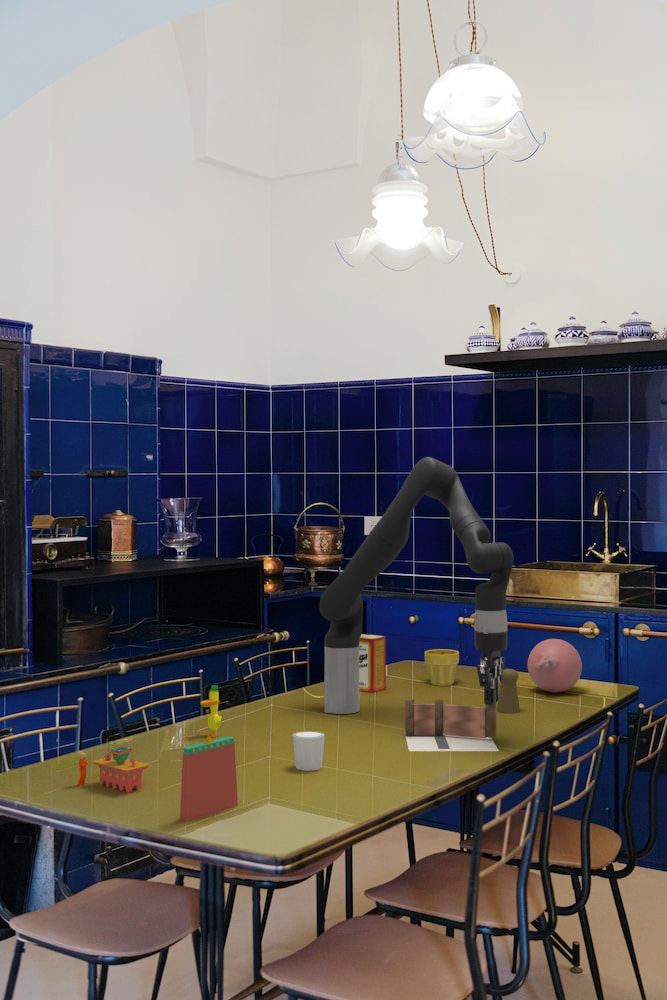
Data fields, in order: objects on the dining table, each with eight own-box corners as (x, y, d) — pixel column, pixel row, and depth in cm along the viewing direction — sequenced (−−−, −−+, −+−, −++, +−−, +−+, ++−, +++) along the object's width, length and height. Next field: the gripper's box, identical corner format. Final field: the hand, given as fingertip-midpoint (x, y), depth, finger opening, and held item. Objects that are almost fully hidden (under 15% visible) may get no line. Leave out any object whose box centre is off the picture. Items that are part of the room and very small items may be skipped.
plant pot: (425, 687, 318) (425, 654, 318) (423, 680, 328) (423, 649, 328) (460, 687, 317) (460, 654, 317) (457, 681, 328) (457, 649, 328)
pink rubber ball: (511, 696, 304) (511, 641, 304) (540, 685, 320) (540, 634, 320) (562, 702, 295) (562, 646, 295) (590, 690, 311) (590, 638, 311)
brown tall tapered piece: (519, 708, 286) (519, 667, 286) (520, 713, 280) (520, 671, 280) (496, 708, 287) (496, 667, 287) (497, 713, 281) (497, 671, 281)
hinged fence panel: (442, 735, 252) (442, 677, 252) (445, 733, 254) (445, 676, 254) (494, 739, 248) (494, 681, 247) (497, 737, 250) (497, 679, 250)
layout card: (409, 752, 239) (409, 750, 239) (404, 734, 257) (404, 732, 257) (499, 752, 239) (499, 750, 239) (488, 734, 257) (488, 732, 257)
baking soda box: (346, 689, 314) (346, 635, 314) (359, 686, 319) (359, 632, 319) (372, 693, 308) (372, 637, 308) (385, 689, 314) (385, 635, 313)
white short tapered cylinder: (314, 772, 222) (314, 739, 222) (286, 768, 226) (286, 735, 226) (330, 765, 228) (330, 732, 228) (303, 761, 232) (303, 729, 232)
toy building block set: (187, 822, 190) (186, 743, 190) (70, 787, 213) (69, 716, 213) (238, 806, 200) (237, 730, 199) (120, 774, 223) (120, 706, 222)
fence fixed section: (405, 736, 253) (405, 701, 253) (405, 734, 255) (404, 699, 255) (443, 736, 253) (443, 701, 253) (442, 734, 255) (442, 699, 255)
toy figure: (206, 740, 252) (206, 689, 251) (196, 737, 254) (196, 687, 254) (227, 734, 257) (227, 685, 257) (216, 732, 259) (216, 683, 259)
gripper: (485, 623, 256) (485, 695, 257) (465, 632, 244) (465, 707, 244) (515, 625, 253) (516, 698, 253) (496, 634, 241) (497, 710, 241)
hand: (491, 702), depth 249 cm, fingers closed on hinged fence panel, 2 cm apart
